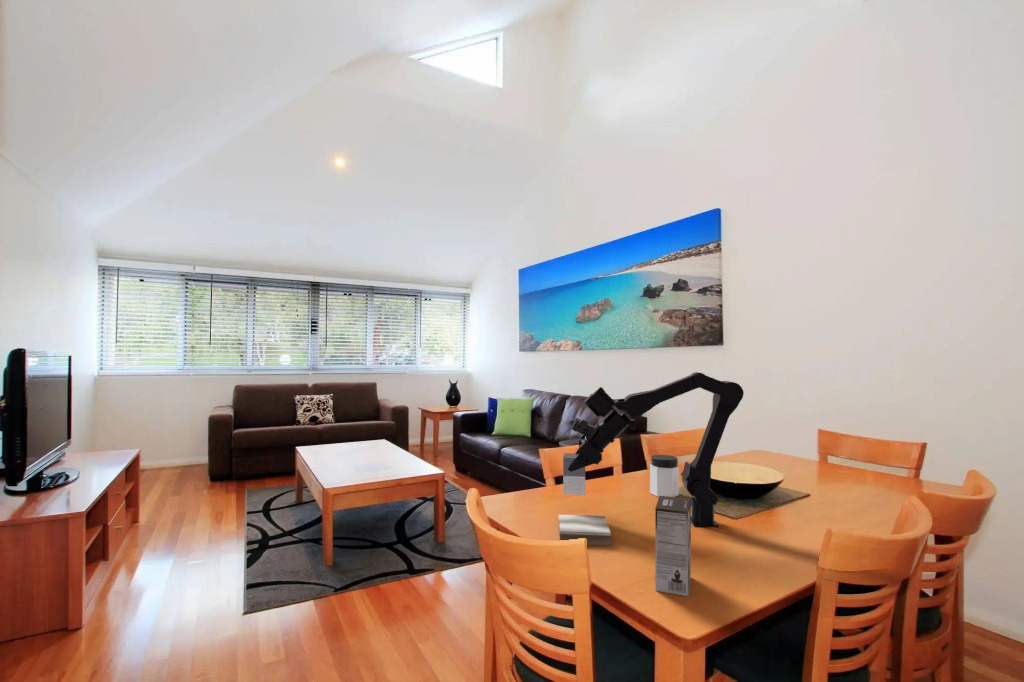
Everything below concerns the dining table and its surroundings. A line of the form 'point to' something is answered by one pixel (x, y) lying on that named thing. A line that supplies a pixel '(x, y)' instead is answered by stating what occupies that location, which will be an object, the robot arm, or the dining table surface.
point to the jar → (664, 476)
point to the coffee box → (673, 545)
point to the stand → (585, 529)
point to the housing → (573, 477)
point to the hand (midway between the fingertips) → (569, 467)
